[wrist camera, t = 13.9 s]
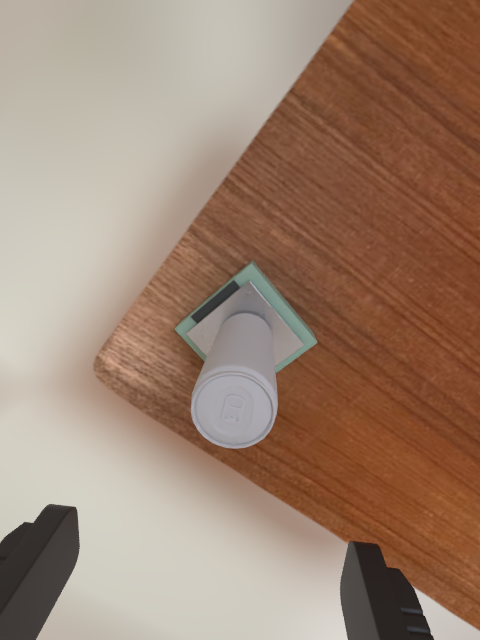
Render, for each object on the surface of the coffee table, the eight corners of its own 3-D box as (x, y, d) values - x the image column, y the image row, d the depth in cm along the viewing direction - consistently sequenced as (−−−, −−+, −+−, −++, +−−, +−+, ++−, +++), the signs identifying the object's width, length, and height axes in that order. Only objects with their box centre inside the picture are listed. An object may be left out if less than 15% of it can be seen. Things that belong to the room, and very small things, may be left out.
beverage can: (212, 357, 31) (180, 439, 20) (223, 305, 30) (197, 360, 18) (265, 370, 31) (266, 459, 20) (279, 318, 30) (288, 382, 18)
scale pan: (187, 331, 32) (185, 333, 31) (249, 278, 30) (249, 280, 29) (240, 388, 33) (240, 393, 32) (303, 341, 31) (304, 345, 30)
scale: (180, 321, 34) (173, 329, 32) (252, 259, 32) (251, 263, 30) (241, 388, 36) (239, 401, 33) (314, 333, 34) (318, 343, 31)
